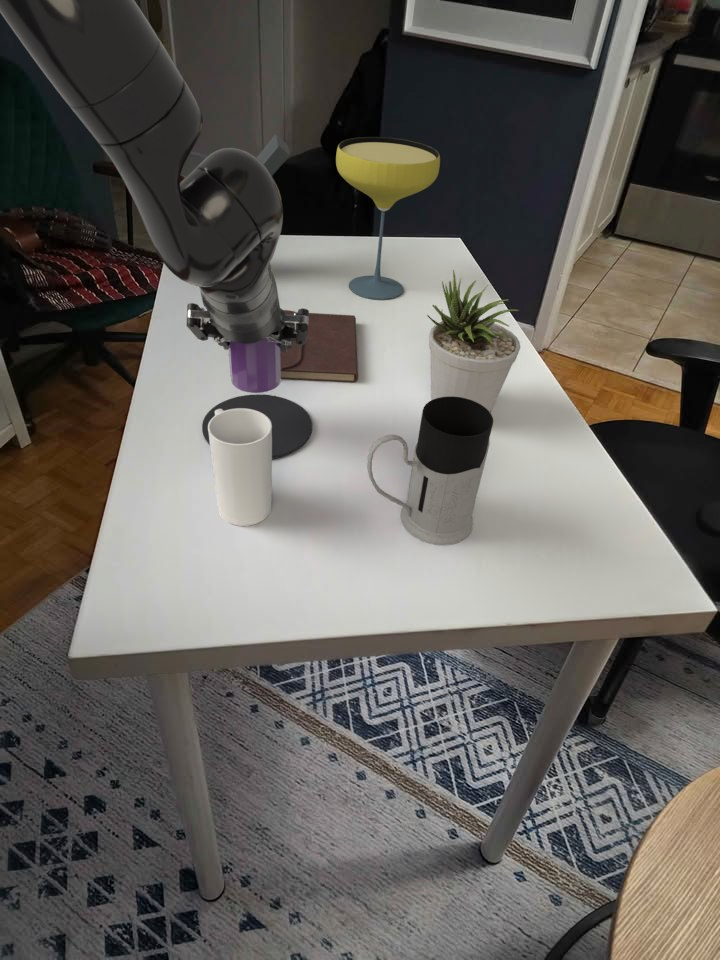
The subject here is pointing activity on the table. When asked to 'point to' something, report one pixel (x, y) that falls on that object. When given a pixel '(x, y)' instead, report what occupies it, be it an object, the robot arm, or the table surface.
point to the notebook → (324, 350)
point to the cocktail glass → (385, 189)
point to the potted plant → (470, 350)
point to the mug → (242, 464)
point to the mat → (272, 420)
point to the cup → (255, 366)
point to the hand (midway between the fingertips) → (256, 343)
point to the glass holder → (443, 469)
